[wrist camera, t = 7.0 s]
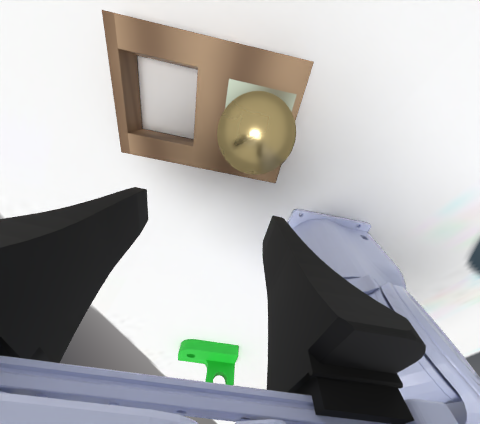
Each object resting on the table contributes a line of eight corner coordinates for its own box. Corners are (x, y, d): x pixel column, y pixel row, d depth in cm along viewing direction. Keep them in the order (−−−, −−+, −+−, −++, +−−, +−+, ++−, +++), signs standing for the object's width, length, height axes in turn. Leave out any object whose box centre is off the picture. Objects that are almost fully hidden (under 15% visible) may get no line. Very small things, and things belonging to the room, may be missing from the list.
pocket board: (304, 66, 15) (314, 61, 13) (272, 173, 20) (275, 183, 17) (124, 23, 14) (100, 9, 12) (136, 145, 19) (120, 152, 16)
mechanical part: (238, 344, 40) (236, 396, 33) (233, 356, 43) (230, 406, 36) (181, 336, 39) (167, 387, 32) (181, 349, 42) (167, 398, 35)
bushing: (287, 99, 14) (307, 100, 9) (272, 154, 16) (282, 180, 11) (233, 88, 14) (222, 82, 9) (226, 144, 16) (213, 167, 11)
